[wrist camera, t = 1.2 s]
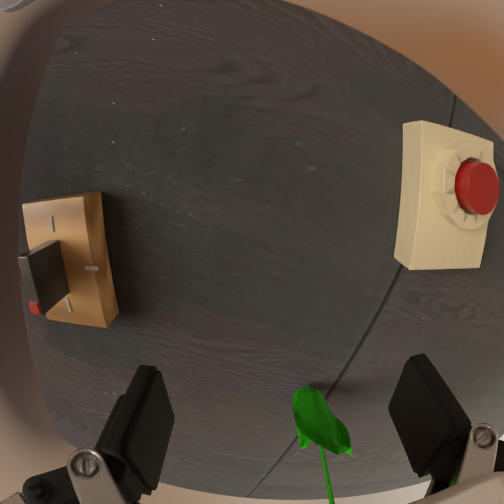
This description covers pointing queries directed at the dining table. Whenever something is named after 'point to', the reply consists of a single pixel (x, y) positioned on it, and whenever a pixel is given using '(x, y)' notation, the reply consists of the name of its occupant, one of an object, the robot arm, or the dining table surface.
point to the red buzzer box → (438, 199)
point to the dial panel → (76, 255)
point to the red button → (477, 187)
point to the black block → (44, 276)
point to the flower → (319, 427)
